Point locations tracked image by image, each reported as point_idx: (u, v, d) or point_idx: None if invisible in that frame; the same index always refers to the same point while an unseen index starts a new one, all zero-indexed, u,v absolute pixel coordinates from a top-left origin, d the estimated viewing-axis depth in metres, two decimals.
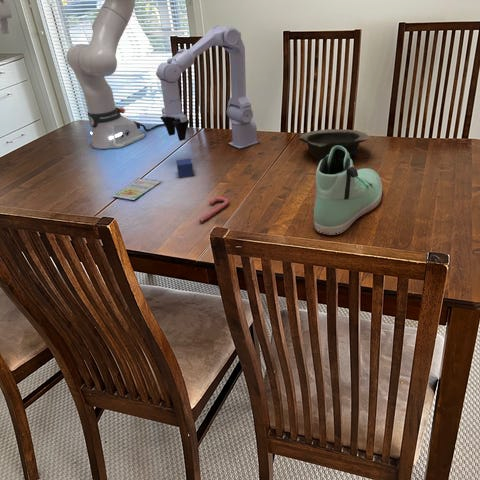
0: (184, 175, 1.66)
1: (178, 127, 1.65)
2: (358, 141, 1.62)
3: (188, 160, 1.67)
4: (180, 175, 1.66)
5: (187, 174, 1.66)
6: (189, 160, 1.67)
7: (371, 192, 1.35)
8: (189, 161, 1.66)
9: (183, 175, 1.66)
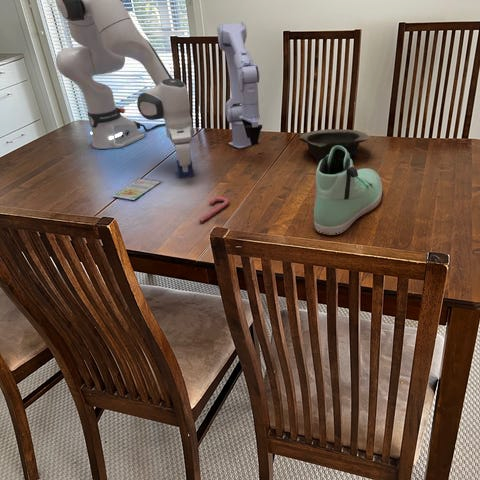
0: (184, 175, 1.66)
1: (249, 131, 1.63)
2: (358, 141, 1.62)
3: None
4: (180, 175, 1.66)
5: (187, 174, 1.66)
6: None
7: (371, 192, 1.35)
8: None
9: (183, 175, 1.66)
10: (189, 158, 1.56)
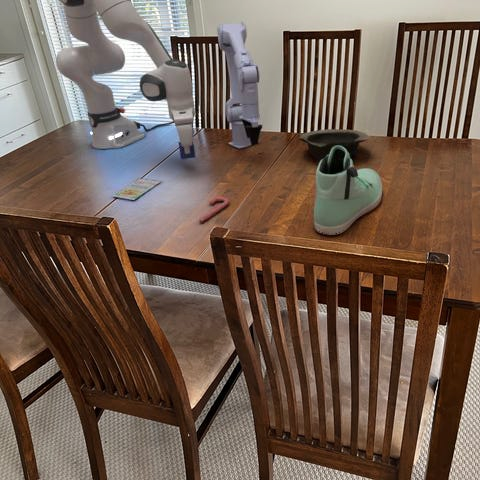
0: (186, 157, 1.68)
1: (249, 131, 1.63)
2: (358, 141, 1.62)
3: None
4: (182, 156, 1.68)
5: (189, 155, 1.68)
6: None
7: (371, 192, 1.35)
8: None
9: (185, 157, 1.68)
10: (191, 139, 1.57)
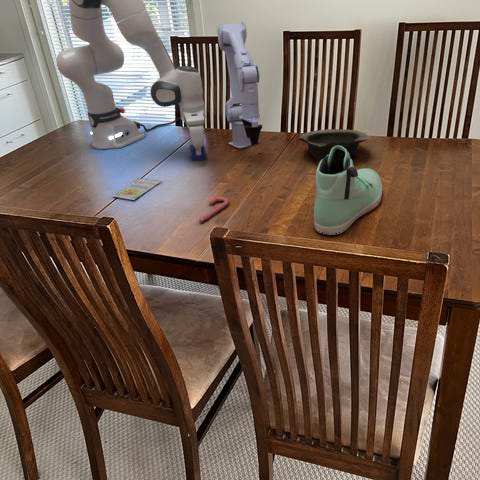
0: (197, 158, 1.79)
1: (249, 131, 1.63)
2: (358, 141, 1.62)
3: None
4: (193, 158, 1.79)
5: (200, 157, 1.79)
6: None
7: (371, 192, 1.35)
8: None
9: (196, 158, 1.79)
10: (202, 139, 1.68)
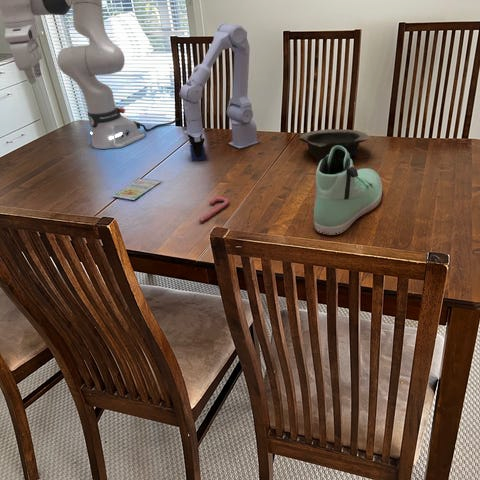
0: (197, 158, 1.79)
1: (192, 144, 1.74)
2: (358, 141, 1.62)
3: None
4: (193, 158, 1.78)
5: (200, 157, 1.79)
6: None
7: (371, 192, 1.35)
8: None
9: (196, 158, 1.79)
10: (28, 60, 1.36)
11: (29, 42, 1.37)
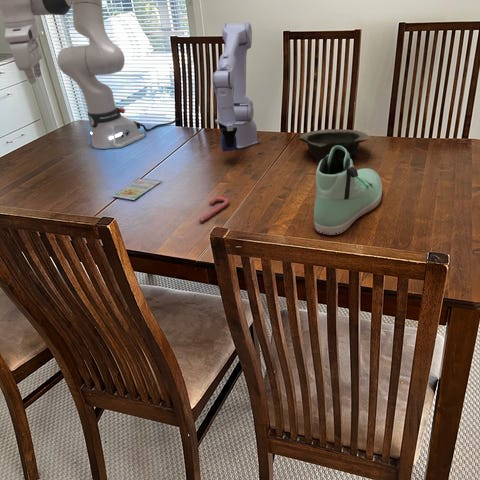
0: (228, 149, 1.70)
1: (224, 134, 1.65)
2: (358, 141, 1.62)
3: None
4: (224, 149, 1.70)
5: (231, 148, 1.70)
6: None
7: (371, 192, 1.35)
8: None
9: (227, 149, 1.70)
10: (28, 60, 1.36)
11: (29, 42, 1.37)
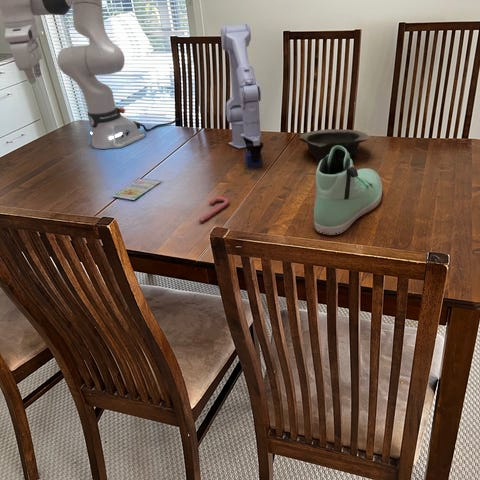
0: (253, 166, 1.69)
1: (251, 149, 1.63)
2: (358, 141, 1.62)
3: None
4: (249, 166, 1.69)
5: (256, 164, 1.69)
6: None
7: (371, 192, 1.35)
8: None
9: (252, 166, 1.69)
10: (28, 60, 1.36)
11: (29, 42, 1.37)
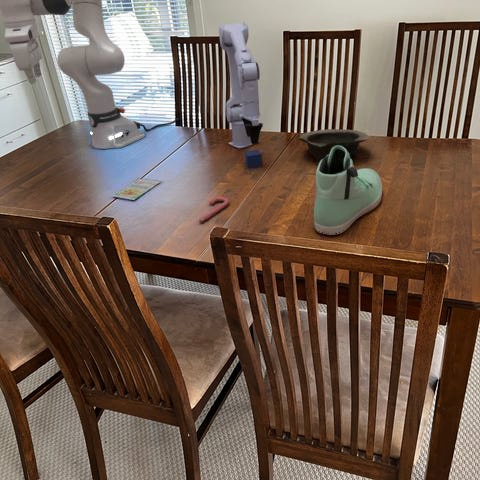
0: (253, 166, 1.69)
1: (249, 130, 1.59)
2: (358, 141, 1.62)
3: (257, 151, 1.70)
4: (249, 166, 1.69)
5: (256, 164, 1.69)
6: (258, 151, 1.70)
7: (371, 192, 1.35)
8: (258, 152, 1.69)
9: (252, 166, 1.69)
10: (28, 60, 1.36)
11: (29, 42, 1.37)
